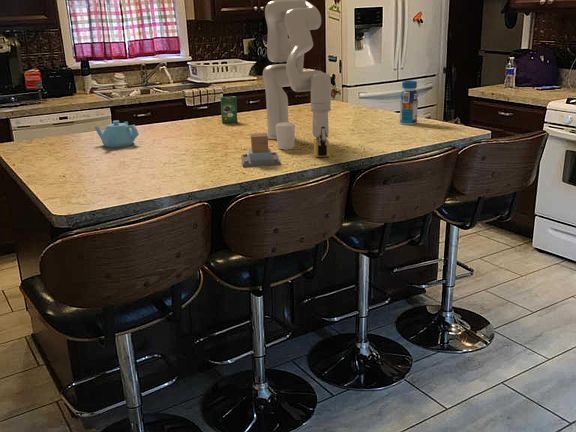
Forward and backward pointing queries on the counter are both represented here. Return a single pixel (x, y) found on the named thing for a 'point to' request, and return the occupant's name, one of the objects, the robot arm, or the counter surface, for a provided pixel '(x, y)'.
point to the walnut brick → (259, 142)
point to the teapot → (117, 134)
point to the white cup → (285, 135)
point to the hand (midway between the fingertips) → (321, 153)
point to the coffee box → (229, 109)
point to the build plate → (260, 163)
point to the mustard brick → (316, 143)
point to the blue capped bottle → (408, 103)
